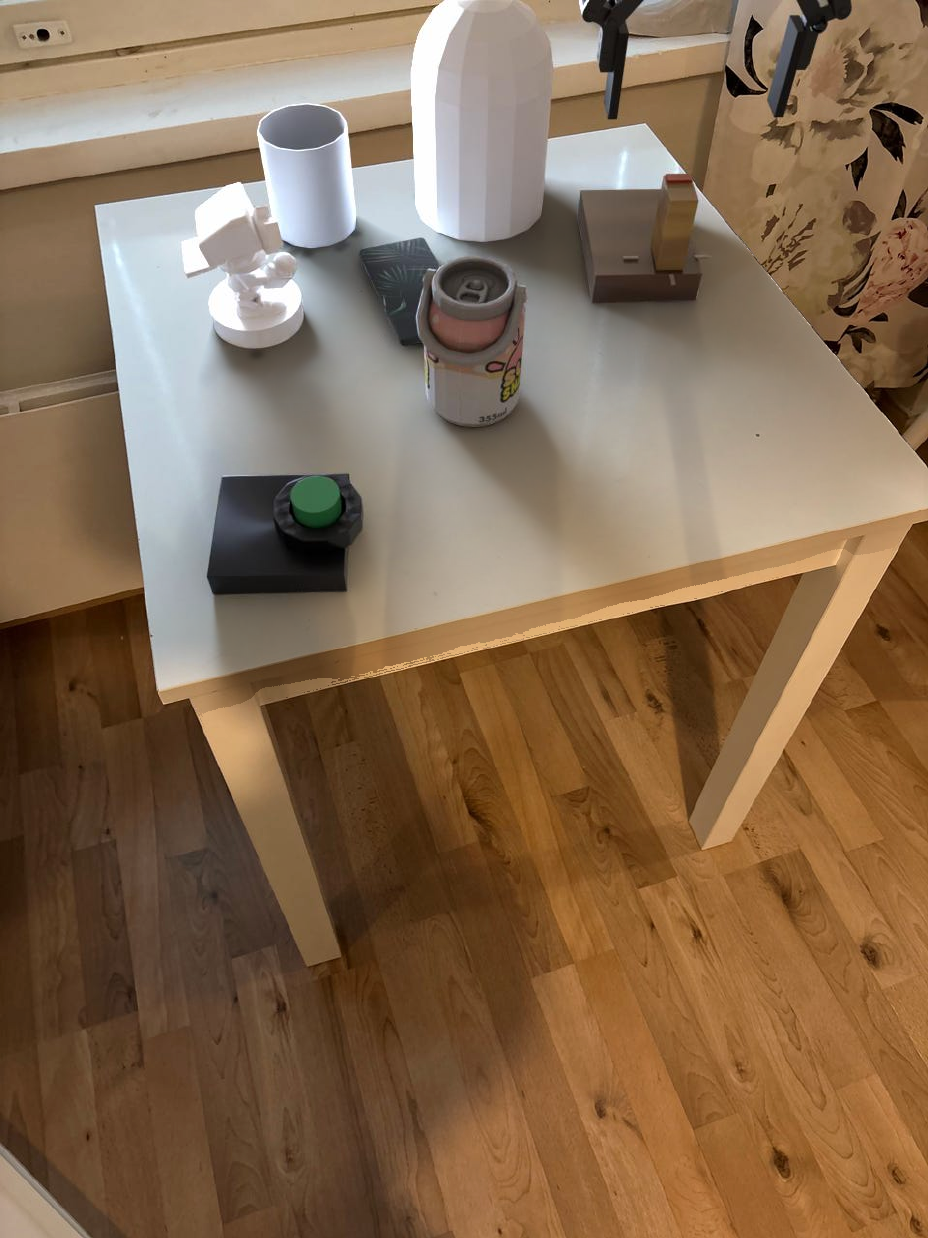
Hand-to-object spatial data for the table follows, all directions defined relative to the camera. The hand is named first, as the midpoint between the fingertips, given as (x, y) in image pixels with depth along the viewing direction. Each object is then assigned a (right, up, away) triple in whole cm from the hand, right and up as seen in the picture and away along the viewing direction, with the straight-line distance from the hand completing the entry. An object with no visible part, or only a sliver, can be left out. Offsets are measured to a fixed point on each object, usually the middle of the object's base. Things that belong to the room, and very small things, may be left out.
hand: (692, 110), depth 78 cm
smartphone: (-24, -11, +13) cm, 29 cm away
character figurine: (-39, -14, +11) cm, 42 cm away
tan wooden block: (0, -8, +12) cm, 14 cm away
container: (-17, +2, +22) cm, 28 cm away
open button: (-30, -34, -7) cm, 45 cm away
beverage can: (-18, -23, +5) cm, 30 cm away
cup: (-34, -1, +20) cm, 39 cm away
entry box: (-33, -36, -4) cm, 49 cm away
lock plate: (-2, -6, +17) cm, 18 cm away
